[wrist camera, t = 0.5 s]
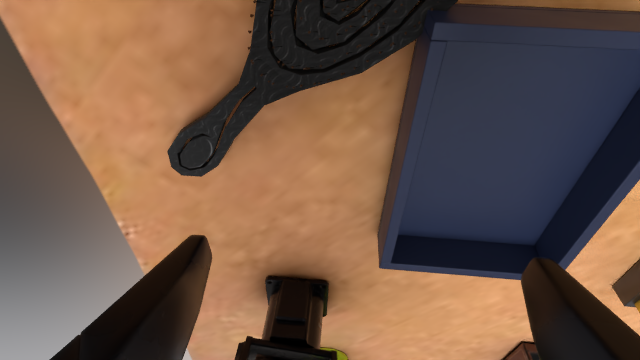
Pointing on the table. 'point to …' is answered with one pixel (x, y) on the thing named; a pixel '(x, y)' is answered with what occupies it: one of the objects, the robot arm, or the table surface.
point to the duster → (629, 287)
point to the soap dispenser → (341, 357)
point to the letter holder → (524, 353)
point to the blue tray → (512, 138)
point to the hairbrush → (299, 62)
